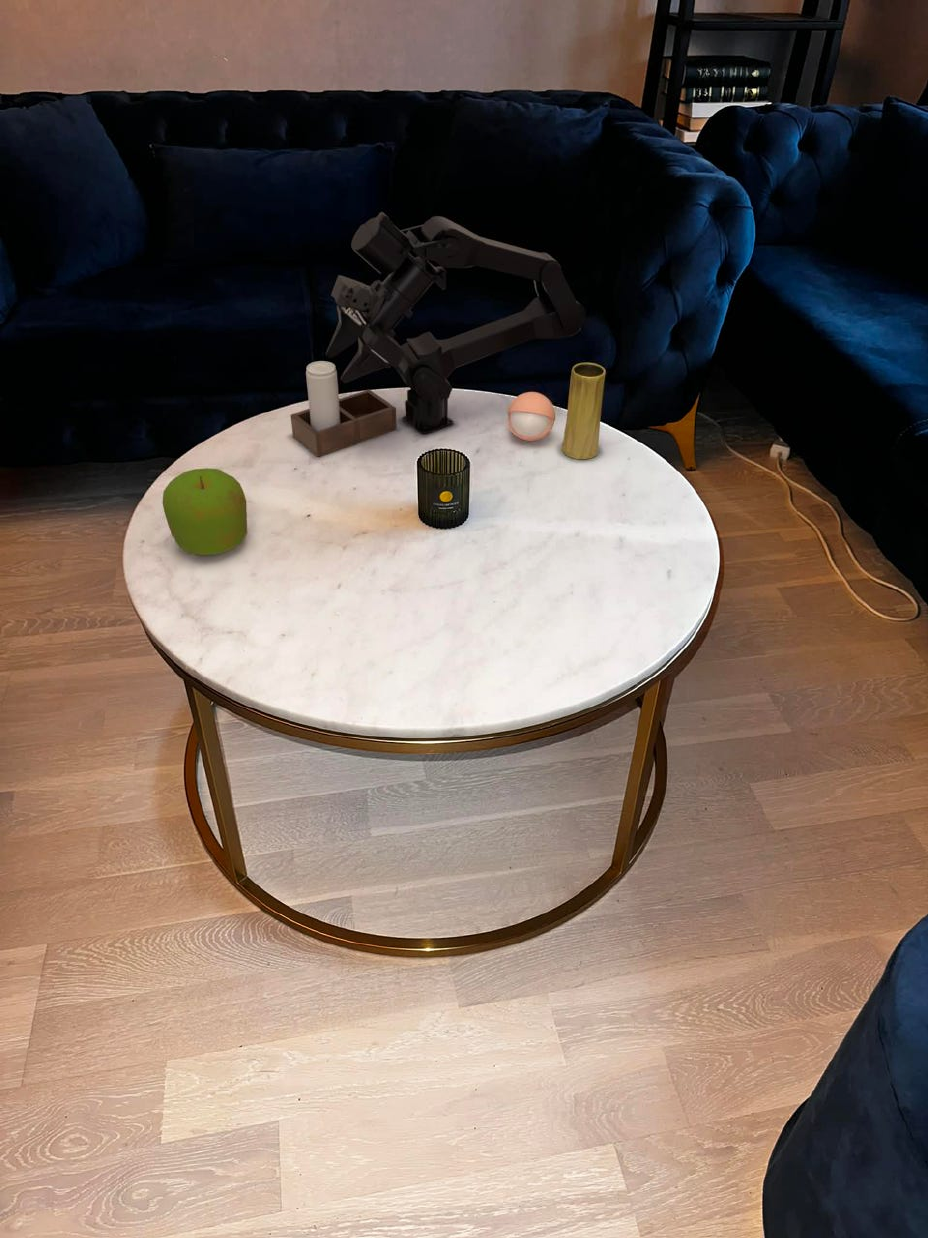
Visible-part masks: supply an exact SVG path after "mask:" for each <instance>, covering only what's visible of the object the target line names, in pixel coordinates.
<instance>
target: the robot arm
mask: <svg viewBox="0 0 928 1238" xmlns="http://www.w3.org/2000/svg"><path fill="white" fill-rule="evenodd" d="M350 246H351V249H352V250H353V252H355V253H356V254H357V255H358V256H359V257H361V258H362V259H363V260H364V261H365V262H366V263H367V264H368V265H369V266H371V267H372V268H373V269H374V270H375V271H377V273H379V274H381V275H385V274H388V275H387V276H386V277H385V279H384V280H383V281H381V280H380V279H377V280H374V282H373V283H371V285H369V284H368V285H367V284H365V283H363V282H360V281H359V280H355V279H352V278H350V277H347V276H344V275H339V274H338V276H337V278H336V280H335V284H334V286H333V289H332V291H331V294H330V295H331V297H332V298H334V300H335V303H336V304H337V305H336V310H337V315H338V323H337V326H336V329H335V331H334V334H333V335H332V338H331V340H330V343H329V345H328V347H327V349H326V351H325V355H326V356H327V358H329V359H333V358H334V357H336V356H338V355H339V354H340V353H342V352H343V351H345V350H346V349H348V348H349V347H351V346H352V345H354V344H355V343H356V342H357V346H358V349H357V352H356V353H355V355H354V357H353V358H352V359H351V361H350V362H349V364H348V365H347V367H346V368H345V370H344V371H343V373H342V374H341V376H340V381H341V382H343V383H344V384H348V383H350V382H352V381H355V380H358V379H359V378H361V377H364V376H366V375H369V374H371V373H374V372H377V371H379V370H382V369H386V368H387V369H390V368H391V367H393V368H395V370H396V372H397V373H398V374H399V376H400V378H402V380H403V382H404V384H405V385H406V386H407V387H408V388H409V389H407V390H406V400H405V401H404V404H405V410H404V411H405V415H404V416H402V422H404V423H405V424H407V425H408V426H410V427H411V428H412V429H414V430H415V431H417V432H418V433H420V434H421V435H427V434H428V435H429V434H430V433H434V432H436V431H439V430H441V429H442V430H443V429H444V428H447V427H450V426H452V425H454V421H453V420H452V419H451V418H450V417H449V409H448V408H449V398H450V396H451V394H452V390H453V386H452V385H451V384H450V382H449V381H448V380H447V378H448V377H449V376H450V375H451V374H452V373H453V372H454V370H456V369H457V368H459V367H463V366H464V365H468V364H471V363H473V362H475V361H478V360H481V359H484V358H486V357H489V356H492V355H494V354H498V353H499V352H502V351H505V350H507V349H511V348H513V347H516V346H518V345H520V344H521V345H522V344H523V343H526V342H529V341H531V340H536V339H538V340H558V339H563V338H567V337H572V336H574V335H576V334H578V333H579V332H580V331H581V328H582V327H583V325H584V323H585V320H586V310H585V308H584V307H583V305H582V304H581V303H579V301H578V300H577V299H576V297H575V295H574V293H573V291H572V289H571V287H570V286H569V283H568V282H567V280H566V278H565V275H564V273H563V270H562V268H561V264H560V263H559V261H557V260H556V259H554V257H552V255H550V254H548V253H547V252H538V251H534V250H530V249H527V248H522V247H519V246H515V245H512V244H508V243H504V242H501V241H497V240H493V239H489V238H486V237H483V236H479V235H478V234H475V233H473V232H472V231H470V230H468V229H466V228H465V227H463V226H462V225H460V224H458V223H455V221H452V220H450V219H448V218H446V217H443V216H438V215H434V216H432V217H431V218H430V219H427V220H426V222H424V223H423V224H420V225H416V226H411V227H408V228H404V229H401V230H400V229H399V228H398V227H397V226H396V225H395V224H394V222H393V221H392V220H391V219H390V218H389V217H388V215H386V214H385V213H384V211H381V212H379V214H378V215H377V216H376V217H372V218H370V219H369V220H367V221H366V222H365V223H362V224H361V225H360V226H359V227H358V228H357V230H356V232H355V233H354V235H353V237H352V240H351V243H350ZM410 251H412V252H413V253H414V254H415V255H416V257H414V256H413V255H412V254H411V253H410ZM431 261H432V262H433V263H435V264H436V265H437V266H434V265H433V264H432V263H431ZM473 267H474V268H475V267H476V268H483V269H487V270H491V271H495V272H499V273H502V274H505V275H511V276H514V277H518V278H522V279H526V280H530V281H533V283H534V288H535V289H534V290H535V292H536V294H537V297H535V298H534V299H533V300H532V301H531V302H530V303H529V304H528V305H527V306H526V307H525V308H524V309H523V310H522V311H519V312H517V313H514V314H511V315H508V316H506V317H503V318H500V319H498V320H494V321H493V322H490V323H487V324H484V325H482V326H479V327H476V328H474V329H471V330H468V331H465V332H462V333H460V334H457V335H455V336H452V337H449V338H446V339H436V338H435V336H434V335H433V334H432V333H431V331H427V332H424V333H422V334H420V335H419V336H417V337H413V338H406V342H405V343H403V344H402V345H400V344H399V342H398V341H396V339H394V338H395V336H396V335H397V334H396V332H395V331H394V329H395V328H396V327H397V325H398V324H400V322H401V321H402V320H403V318H404V317H406V318H407V319H410V318H411V317H412V316H413V315H414V313H413V311H412V310H411V309H412V308H413V307H414V305H415V304H416V303H417V302H418V300H420V298H422V297H423V295H424V294H425V293H426V291H428V289H430V287H431V286H432V284H433V283H434V284H435V285H436V286H438V287H439V288H440V289H441V290H442V291H444V290H446V289H447V283H446V282H447V281H446V275H447V271H446V270H445V268H447V269H449V268H450V269H468V268H473Z"/></svg>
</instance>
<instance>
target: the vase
mask: <svg viewBox="0 0 928 1238" xmlns="http://www.w3.org/2000/svg"><path fill="white" fill-rule="evenodd" d="M606 372H607V371H606V369H605V367H603V366H602V365H600V364H598V363H595V362H580V363H576V364H575V365H573V367H572V369H571V373H570V380H569V392H568V402H567V411H566V422H565V426H564V431H563V440H562V444H561V448H560V449H561V452H562V453H563V454H564V455H565V456H567V457H569V458H571V459H575V460H589V459H592V458H594V457H595V456H597V455H598V454H599V451H600V450H599V440H600V429H601V420H602V419H601V417H602V407H603V398H604V388H605V381H606Z"/></svg>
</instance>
